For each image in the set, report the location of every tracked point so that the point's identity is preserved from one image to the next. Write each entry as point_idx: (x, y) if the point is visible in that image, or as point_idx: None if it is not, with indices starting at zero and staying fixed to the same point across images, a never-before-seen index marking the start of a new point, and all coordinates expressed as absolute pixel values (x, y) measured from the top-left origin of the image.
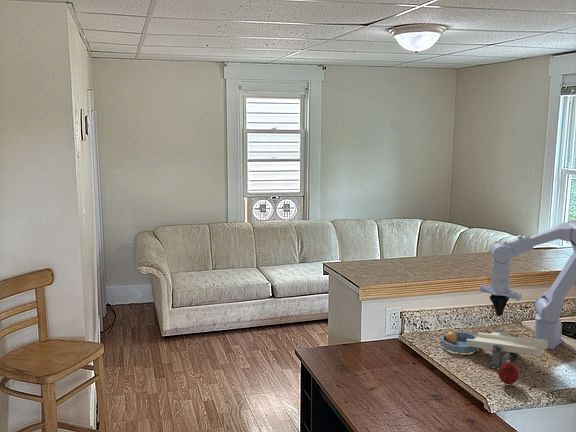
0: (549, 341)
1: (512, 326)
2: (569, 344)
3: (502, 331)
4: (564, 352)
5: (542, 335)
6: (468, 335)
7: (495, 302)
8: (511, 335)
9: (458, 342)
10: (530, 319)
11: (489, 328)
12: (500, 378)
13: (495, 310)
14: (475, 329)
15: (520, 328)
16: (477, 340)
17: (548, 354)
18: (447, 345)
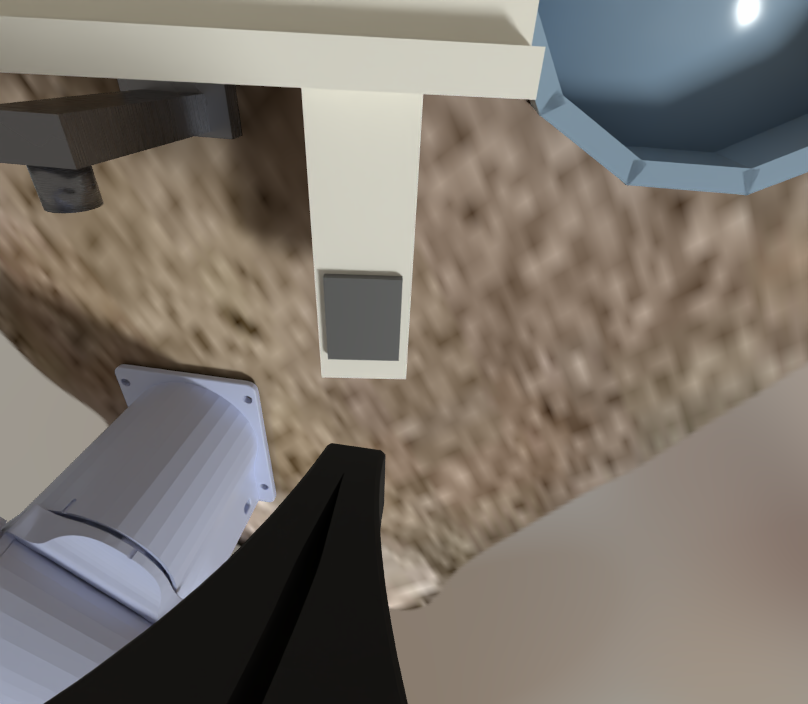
0: (126, 410)
1: (452, 525)
2: None
3: (325, 307)
4: (65, 367)
5: (133, 427)
6: (689, 159)
7: (285, 687)
8: (52, 136)
9: (780, 7)
10: (414, 606)
11: (567, 459)
12: None
13: (369, 508)
14: (662, 407)
15: (404, 520)
16: None
17: (86, 297)
18: None
